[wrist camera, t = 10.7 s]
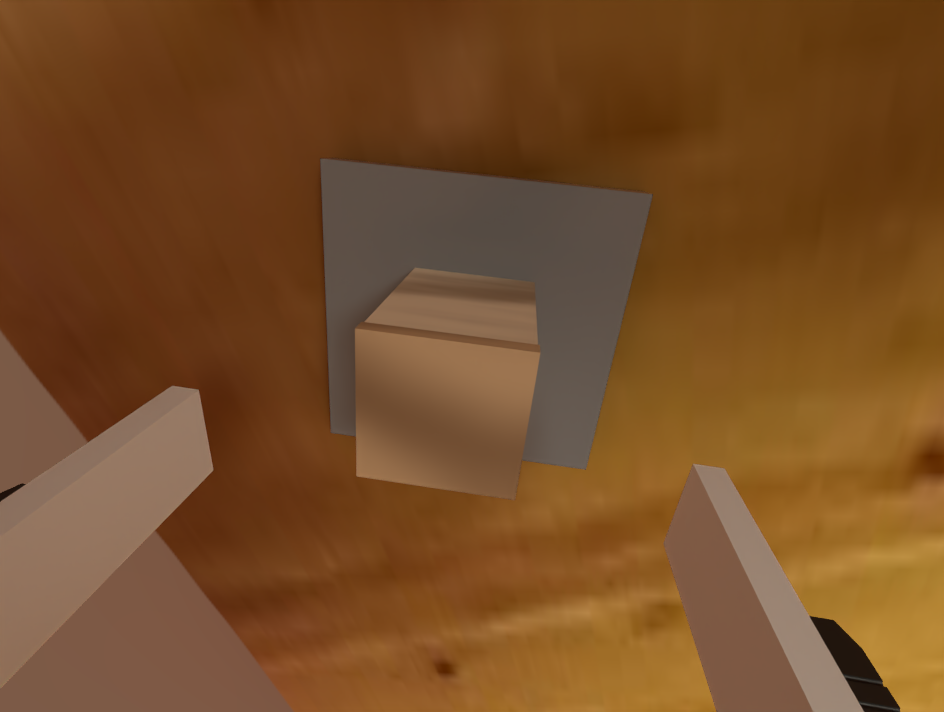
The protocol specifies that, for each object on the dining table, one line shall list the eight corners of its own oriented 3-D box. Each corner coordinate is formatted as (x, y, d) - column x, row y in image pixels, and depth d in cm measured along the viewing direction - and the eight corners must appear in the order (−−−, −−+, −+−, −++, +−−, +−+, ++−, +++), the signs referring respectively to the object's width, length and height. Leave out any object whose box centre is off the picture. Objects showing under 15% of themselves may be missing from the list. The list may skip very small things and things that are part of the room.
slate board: (332, 157, 21) (320, 158, 20) (645, 191, 20) (652, 194, 19) (340, 419, 27) (330, 432, 26) (582, 453, 26) (585, 469, 25)
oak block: (413, 266, 21) (355, 328, 14) (535, 281, 21) (540, 352, 14) (409, 374, 24) (356, 476, 16) (518, 389, 23) (514, 500, 16)
